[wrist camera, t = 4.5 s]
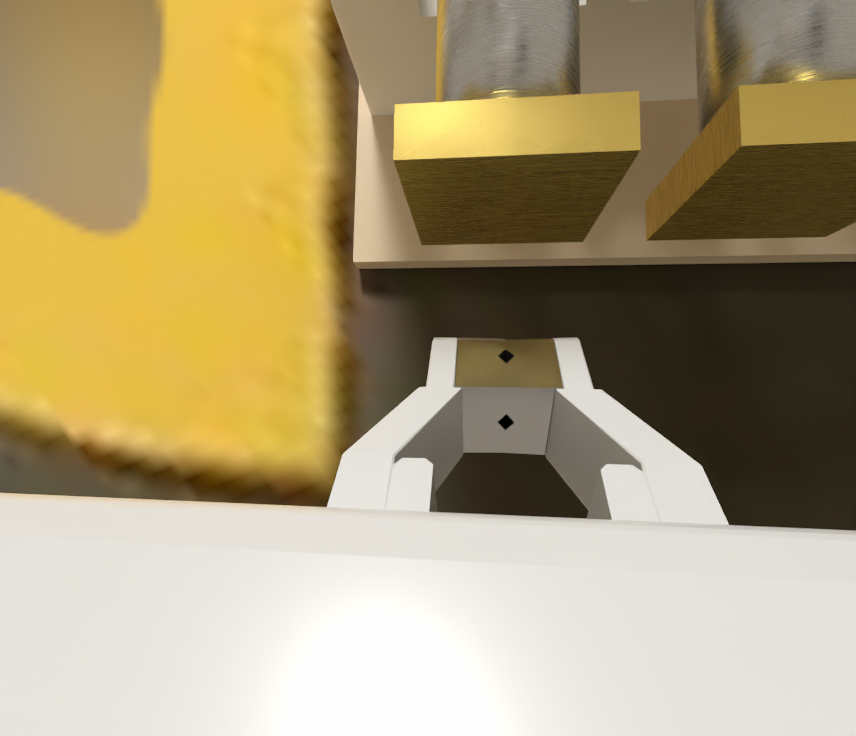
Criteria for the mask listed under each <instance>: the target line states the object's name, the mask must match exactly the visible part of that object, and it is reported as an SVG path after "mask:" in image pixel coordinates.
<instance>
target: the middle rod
mask: <svg viewBox="0 0 856 736" xmlns="http://www.w3.org/2000/svg"><path fill="white" fill-rule="evenodd" d="M694 12H695V39H696V66H697V93H698V121H699V135H698V137H697V138H696V139H695V140H694V141H693V143H692V144H691V145H690V146H689V148H688V149H687V150H686V151H685V153H684V154H683V155H682V156H681V158H680V159H679V160H678V161H677V163H676V164H675V165H674V166H673V168H672V169H671V170H670V171H669V172H668V174H667V175H666V176H665V177H664V179H663V180H662V181H661V182H660V184H659V185H658V186H657V187H656V189H655V190H654V191H653V192H652V194H651V195H650V196H649V197H648V198H647V200H646V201H645V207H646V241H657V240H707V239H756V238H805V237H827V236H829V235H831V234H833V233H835V232H837V231H839V230H841V229H843V228H845V227H847V226H849V225H851V224H853V223H855V222H856V0H694Z"/></svg>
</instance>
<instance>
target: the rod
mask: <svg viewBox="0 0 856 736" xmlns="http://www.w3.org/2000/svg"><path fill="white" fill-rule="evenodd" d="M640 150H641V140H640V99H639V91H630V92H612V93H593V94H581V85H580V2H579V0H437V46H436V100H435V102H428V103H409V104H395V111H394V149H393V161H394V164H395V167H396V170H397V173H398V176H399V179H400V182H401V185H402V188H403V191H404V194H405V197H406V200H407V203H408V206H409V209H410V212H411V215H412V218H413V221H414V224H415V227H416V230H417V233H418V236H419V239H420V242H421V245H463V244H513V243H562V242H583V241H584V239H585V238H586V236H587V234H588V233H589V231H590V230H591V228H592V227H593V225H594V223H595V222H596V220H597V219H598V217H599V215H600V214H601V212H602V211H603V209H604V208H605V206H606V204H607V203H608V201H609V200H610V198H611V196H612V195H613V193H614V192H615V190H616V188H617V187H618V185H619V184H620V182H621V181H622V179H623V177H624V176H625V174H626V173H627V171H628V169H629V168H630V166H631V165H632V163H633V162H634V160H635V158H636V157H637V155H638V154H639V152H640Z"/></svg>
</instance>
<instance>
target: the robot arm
mask: <svg viewBox="0 0 856 736" xmlns="http://www.w3.org/2000/svg"><path fill="white" fill-rule="evenodd" d="M463 453H519V454H537V455H545V457H546V458H547V460H548V461H549V462H550V463H551V465H552V466H553V467H554V468H555V470H556V471H557V472H558V473H559V475H560V476H561V477H562V478H563V480H564V481H565V482H566V483H567V485H568V486H569V487H570V488H571V490H572V491H573V492H574V493H575V495H576V496H577V497H578V498H579V500H580V501H581V502H582V503H583V505H584V506H585V507H586V508H587V510H588V514H587V518H586V519H585V518H562V517H539V516H516V515H493V514H471V513H448V512H437V504H436V491H437V490H438V488H439V487H440V486H441V484H442V483H443V482H444V480H445V479H446V477H447V476H448V475H449V473H450V472H451V471H452V469H453V468H454V467H455V465H456V464H457V463H458V461H459V460H460V458H461V457H462V456H463ZM0 736H856V530H833V529H810V528H788V527H765V526H742V525H729V524H728V521H727V519H726V517H725V515H724V513H723V511H722V508H721V506H720V504H719V502H718V500H717V498H716V495H715V493H714V491H713V489H712V487H711V485H710V482H709V480H708V478H707V476H706V474H705V472H704V470H703V467H702V466H701V465H700V464H699V463H698V462H696V461H695V460H694V459H692V458H691V457H690V456H688V455H687V454H686V453H684V452H683V451H682V450H680V449H679V448H678V447H676V446H675V445H674V444H673V443H671V442H670V441H669V440H667V439H666V438H665V437H663V436H662V435H661V434H659V433H658V432H657V431H655V430H654V429H653V428H651V427H650V426H649V425H648V424H646V423H645V422H644V421H642V420H641V419H640V418H638V417H637V416H636V415H634V414H633V413H632V412H630V411H629V410H628V409H626V408H625V407H624V406H623V405H621V404H620V403H619V402H617V401H616V400H615V399H613V398H612V397H611V396H609V395H608V394H607V393H605V392H604V391H603V390H600V389H594V388H593V384H592V381H591V377H590V374H589V370H588V367H587V363H586V360H585V357H584V353H583V350H582V346H581V343H580V340H579V339H578V338H577V337H576V338H552V339H498V338H458V339H457V338H447V337H434V339H433V341H432V347H431V355H430V362H429V369H428V376H427V384H426V387H419V388H417V389H416V390H415V391H414V392H413V393H412V394H411V395H409V396H408V397H407V398H406V399H405V400H404V401H403V402H401V403H400V404H399V405H398V406H397V407H396V408H395V409H393V410H392V411H391V412H390V413H389V414H388V415H387V416H386V417H384V418H383V419H382V420H381V421H380V422H379V423H378V424H376V425H375V426H374V427H373V428H372V429H371V430H370V431H368V432H367V433H366V434H365V435H364V436H363V437H362V438H360V439H359V440H358V441H357V442H356V443H355V444H354V445H352V446H351V447H350V448H349V449H348V450H347V451H346V452H344V453H343V455H342V459H341V462H340V465H339V468H338V472H337V475H336V478H335V482H334V485H333V488H332V492H331V495H330V498H329V501H328V505H327V507H311V506H288V505H265V504H243V503H220V502H197V501H174V500H151V499H129V498H106V497H83V496H60V495H37V494H14V493H0Z"/></svg>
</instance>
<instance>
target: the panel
mask: <svg viewBox="0 0 856 736" xmlns="http://www.w3.org/2000/svg"><path fill="white" fill-rule="evenodd" d="M330 1H331V4H332V7H333V10H334V13H335V15H336V18H337V21H338V24H339V26H340V29H341V32H342V35H343V38H344V40H345V43H346V46H347V49H348V52H349V54H350V57H351V60H352V63H353V66H354V68H355V71H356V74H357V77H358V80H359V105H358V134H357V163H356V192H355V221H354V250H353V263H354V264H355V265H356V266H357V267H358V269H389V268H456V267H524V266H591V265H658V264H726V263H793V262H856V222H855V223H853V224H851V225H849V226H847V227H845V228H843V229H841V230H839V231H837V232H835V233H833V234H831V235H829V236H827V237H805V238H756V239H707V240H657V241H646V207H645V201H646V200H647V198H648V197H649V196H650V195H651V194H652V192H653V191H654V190H655V189H656V187H657V186H658V185H659V184H660V182H661V181H662V180H663V179H664V177H665V176H666V175H667V174H668V172H669V171H670V170H671V169H672V168H673V166H674V165H675V164H676V163H677V161H678V160H679V159H680V158H681V156H682V155H683V154H684V153H685V151H686V150H687V149H688V148H689V146H690V145H691V144H692V143H693V141H694V140H695V139H696V138H697V137H698V135H699V121H698V93H697V66H696V39H695V12H694V0H579V2H580V85H581V94H593V93H612V92H630V91H639V99H640V140H641V150H640V152H639V154H638V155H637V157H636V158H635V160H634V162H633V163H632V165H631V166H630V168H629V169H628V171H627V173H626V174H625V176H624V177H623V179H622V181H621V182H620V184H619V185H618V187H617V188H616V190H615V192H614V193H613V195H612V196H611V198H610V200H609V201H608V203H607V204H606V206H605V208H604V209H603V211H602V212H601V214H600V215H599V217H598V219H597V220H596V222H595V223H594V225H593V227H592V228H591V230H590V231H589V233H588V234H587V236H586V238H585V239H584V241H583V242H562V243H513V244H463V245H421V242H420V239H419V236H418V233H417V230H416V227H415V224H414V221H413V218H412V215H411V212H410V209H409V206H408V203H407V200H406V197H405V194H404V191H403V188H402V185H401V182H400V179H399V176H398V173H397V170H396V167H395V164H394V161H393V149H394V111H395V104H409V103H428V102H435V100H436V46H437V0H330Z"/></svg>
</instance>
